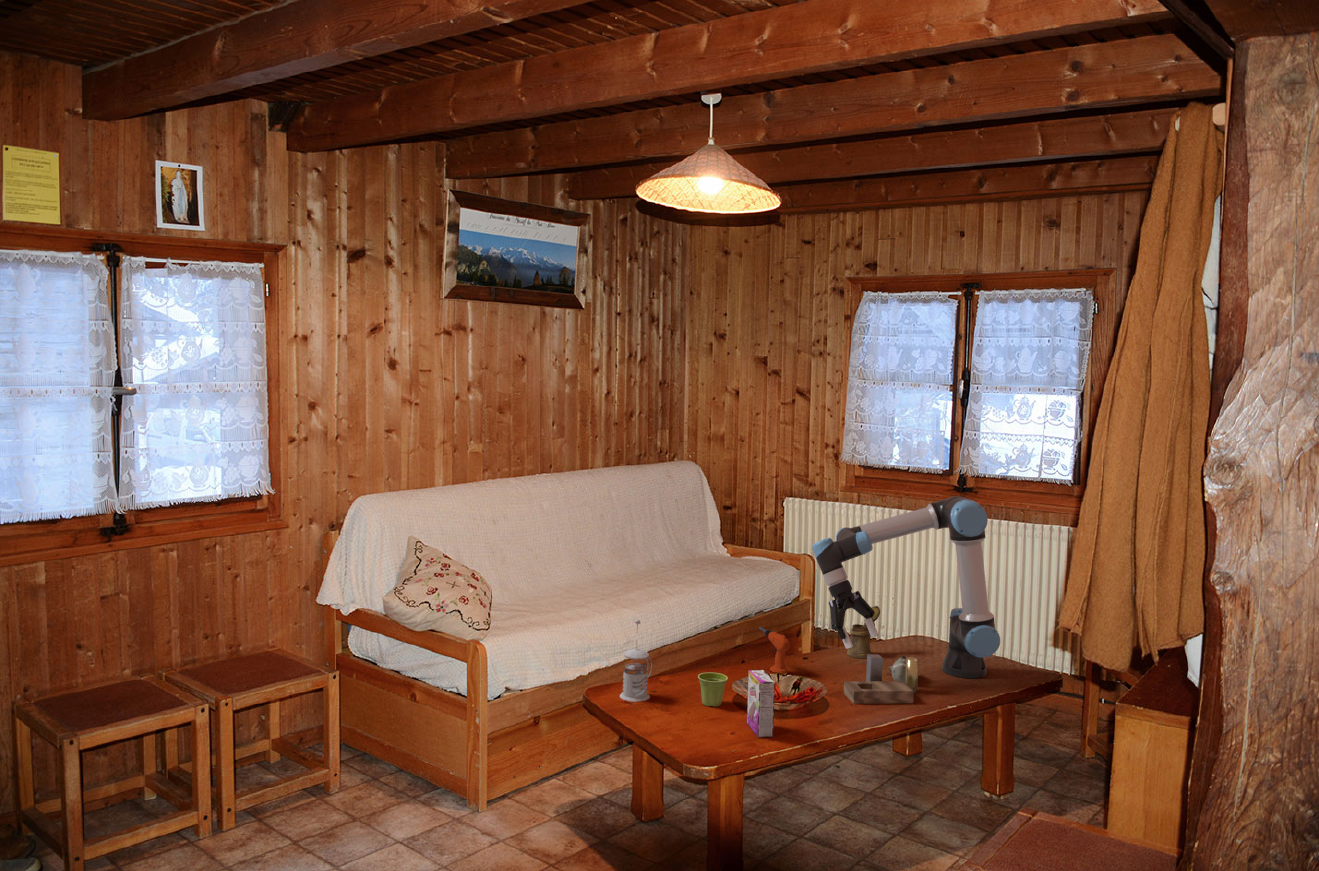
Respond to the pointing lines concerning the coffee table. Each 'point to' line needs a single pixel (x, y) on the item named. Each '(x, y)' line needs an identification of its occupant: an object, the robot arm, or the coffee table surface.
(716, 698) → the plant pot
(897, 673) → the ceramic sculpture
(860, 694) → the socket block
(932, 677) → the coffee table surface
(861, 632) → the tan piece
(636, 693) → the french press
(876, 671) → the square bit
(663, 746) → the coffee table surface
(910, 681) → the brass cylinder
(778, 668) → the toy drill
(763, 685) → the candy bar box
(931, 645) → the coffee table surface
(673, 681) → the coffee table surface
